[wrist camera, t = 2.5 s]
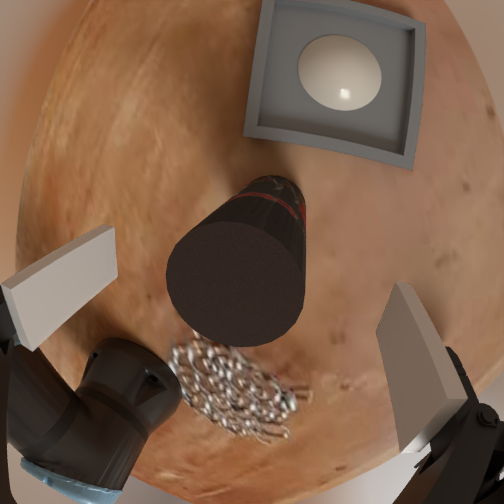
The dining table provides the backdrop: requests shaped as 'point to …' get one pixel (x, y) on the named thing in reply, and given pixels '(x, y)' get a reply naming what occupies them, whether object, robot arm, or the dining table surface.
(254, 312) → the deodorant
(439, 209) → the dining table surface
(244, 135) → the rest tray
